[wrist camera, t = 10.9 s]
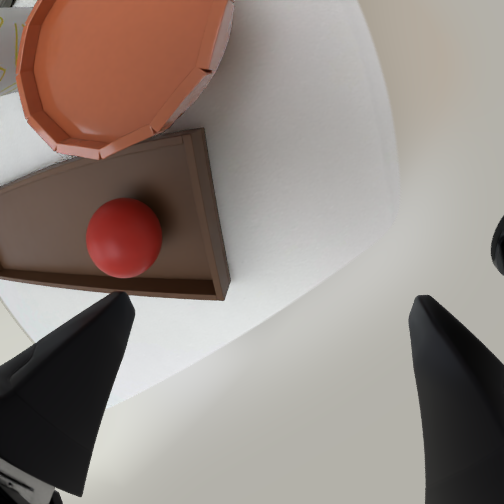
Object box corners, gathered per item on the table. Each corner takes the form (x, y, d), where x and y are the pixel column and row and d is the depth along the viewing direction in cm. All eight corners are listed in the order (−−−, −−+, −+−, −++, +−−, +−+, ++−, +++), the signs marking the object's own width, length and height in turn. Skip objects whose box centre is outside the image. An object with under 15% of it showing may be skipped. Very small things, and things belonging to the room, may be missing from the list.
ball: (190, 226, 20) (141, 271, 16) (156, 263, 24) (114, 305, 19) (138, 170, 19) (79, 201, 15) (113, 215, 23) (65, 249, 18)
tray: (204, 127, 17) (190, 133, 15) (231, 281, 24) (224, 301, 22) (-24, 199, 25) (-35, 206, 23) (5, 269, 32) (-4, 278, 30)
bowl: (296, 32, 13) (295, -7, 7) (169, 163, 19) (109, 206, 13) (162, -49, 9) (105, -85, 3) (68, 75, 15) (-3, 88, 9)
